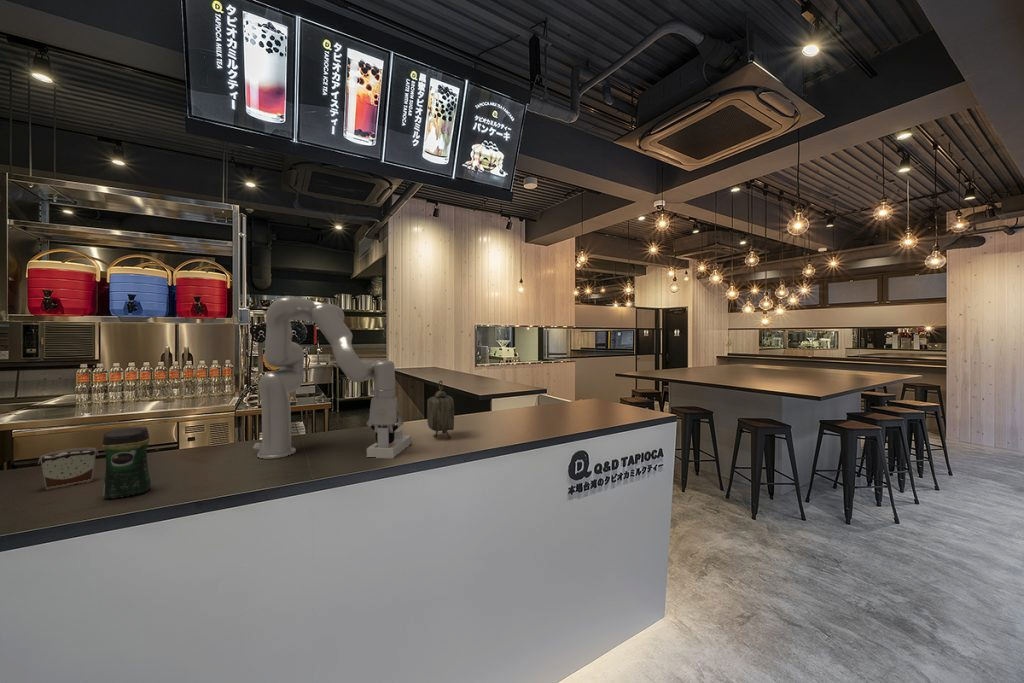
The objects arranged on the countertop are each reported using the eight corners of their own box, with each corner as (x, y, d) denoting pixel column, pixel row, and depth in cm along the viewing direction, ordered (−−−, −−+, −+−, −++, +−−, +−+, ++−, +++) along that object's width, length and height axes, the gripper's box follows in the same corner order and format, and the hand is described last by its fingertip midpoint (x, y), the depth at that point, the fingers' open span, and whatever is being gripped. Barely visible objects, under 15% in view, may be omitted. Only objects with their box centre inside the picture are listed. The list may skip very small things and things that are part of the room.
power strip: (366, 457, 149) (366, 440, 149) (387, 443, 169) (387, 428, 169) (393, 458, 149) (393, 440, 148) (411, 444, 168) (411, 428, 168)
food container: (96, 476, 131) (96, 445, 131) (98, 480, 127) (98, 448, 127) (37, 487, 121) (36, 453, 121) (38, 492, 117) (37, 457, 117)
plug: (377, 449, 151) (377, 422, 151) (382, 446, 156) (382, 420, 156) (388, 449, 151) (387, 422, 151) (392, 446, 156) (392, 420, 156)
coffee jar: (153, 486, 122) (152, 423, 121) (146, 495, 115) (145, 429, 115) (109, 492, 117) (108, 427, 117) (98, 502, 110) (97, 433, 110)
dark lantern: (454, 440, 175) (453, 381, 174) (433, 442, 171) (432, 382, 171) (446, 432, 188) (446, 378, 188) (427, 434, 185) (426, 379, 185)
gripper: (358, 395, 150) (359, 445, 150) (402, 395, 149) (403, 445, 149) (367, 392, 158) (367, 439, 158) (409, 392, 156) (410, 440, 156)
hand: (385, 442), depth 153 cm, fingers closed on plug, 4 cm apart
